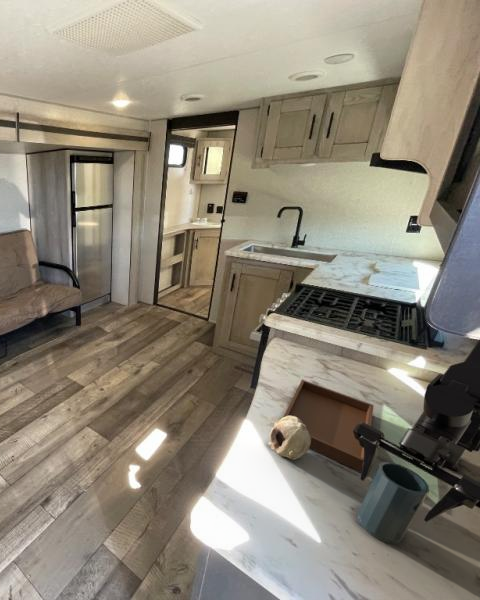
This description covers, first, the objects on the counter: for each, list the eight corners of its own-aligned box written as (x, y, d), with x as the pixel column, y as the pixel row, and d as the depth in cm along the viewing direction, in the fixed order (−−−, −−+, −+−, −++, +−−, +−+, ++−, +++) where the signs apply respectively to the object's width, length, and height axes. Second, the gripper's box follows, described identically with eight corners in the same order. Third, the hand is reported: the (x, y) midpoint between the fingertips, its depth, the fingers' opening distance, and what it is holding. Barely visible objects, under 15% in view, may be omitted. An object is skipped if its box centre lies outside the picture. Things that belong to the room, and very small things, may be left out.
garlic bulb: (273, 444, 85) (279, 407, 84) (312, 459, 78) (318, 419, 78) (261, 453, 78) (267, 413, 78) (302, 470, 72) (309, 427, 72)
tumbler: (357, 503, 67) (379, 456, 62) (400, 525, 63) (427, 476, 58) (354, 526, 62) (378, 477, 58) (401, 552, 58) (430, 501, 54)
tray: (299, 388, 104) (301, 379, 103) (369, 414, 93) (373, 404, 92) (277, 433, 85) (280, 423, 84) (362, 472, 74) (367, 462, 73)
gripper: (373, 388, 64) (329, 452, 62) (524, 455, 49) (471, 540, 47) (376, 408, 70) (336, 466, 69) (510, 472, 55) (463, 548, 54)
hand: (391, 499), depth 60 cm, fingers open, 9 cm apart
